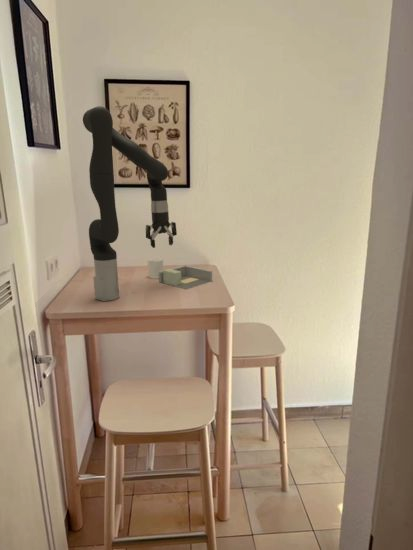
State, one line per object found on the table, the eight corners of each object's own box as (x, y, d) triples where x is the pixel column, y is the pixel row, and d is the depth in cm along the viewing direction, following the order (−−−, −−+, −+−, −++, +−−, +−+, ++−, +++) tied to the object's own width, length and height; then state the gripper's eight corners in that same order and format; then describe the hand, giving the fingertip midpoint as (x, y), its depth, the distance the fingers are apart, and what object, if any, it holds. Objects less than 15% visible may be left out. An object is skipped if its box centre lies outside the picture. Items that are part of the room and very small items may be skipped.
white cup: (145, 279, 189) (144, 260, 187) (152, 275, 196) (151, 257, 194) (159, 281, 187) (159, 261, 184) (166, 277, 194) (165, 258, 191)
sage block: (175, 285, 176) (174, 273, 174) (163, 282, 181) (163, 270, 179) (181, 283, 178) (181, 271, 177) (169, 281, 184) (169, 269, 182)
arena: (186, 291, 170) (185, 278, 168) (159, 284, 181) (158, 272, 180) (212, 282, 183) (212, 271, 181) (185, 276, 194) (185, 265, 193)
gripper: (148, 213, 162) (151, 250, 167) (177, 210, 169) (179, 245, 174) (141, 211, 168) (144, 247, 173) (170, 208, 175) (172, 242, 180)
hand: (162, 246), depth 173 cm, fingers open, 8 cm apart
